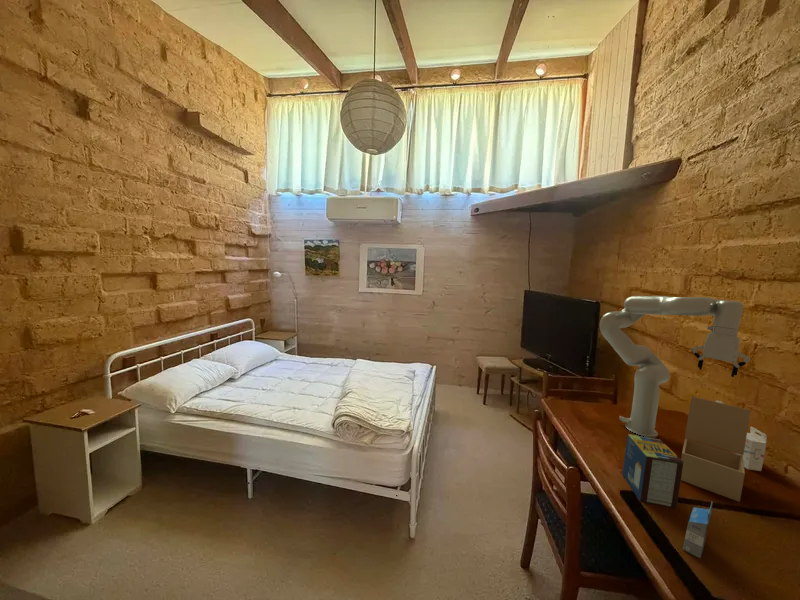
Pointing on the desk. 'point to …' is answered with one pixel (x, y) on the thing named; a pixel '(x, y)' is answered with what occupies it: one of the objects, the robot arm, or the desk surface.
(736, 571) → the desk surface
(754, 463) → the ink cartridge box
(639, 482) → the protein box
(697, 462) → the carton
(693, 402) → the carton flap
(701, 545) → the label tape box
